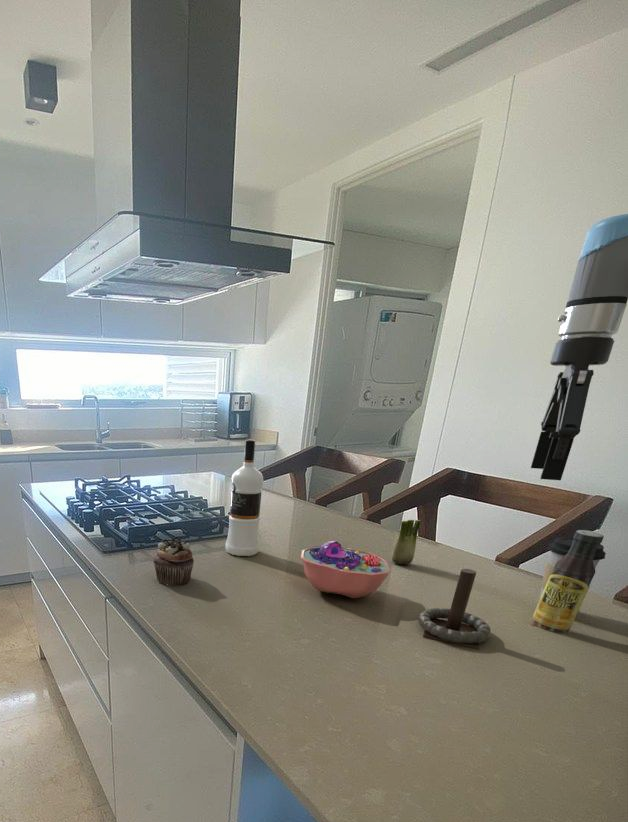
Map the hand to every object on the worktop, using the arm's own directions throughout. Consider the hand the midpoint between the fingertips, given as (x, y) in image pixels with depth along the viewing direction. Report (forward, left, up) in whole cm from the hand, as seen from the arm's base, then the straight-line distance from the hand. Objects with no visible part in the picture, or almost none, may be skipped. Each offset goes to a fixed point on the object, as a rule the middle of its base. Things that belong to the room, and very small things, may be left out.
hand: (544, 473), depth 86 cm
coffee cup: (-11, -14, -30) cm, 34 cm away
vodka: (+61, -14, -30) cm, 69 cm away
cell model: (+31, +1, -30) cm, 43 cm away
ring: (+8, +12, -27) cm, 30 cm away
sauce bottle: (-9, -2, -30) cm, 31 cm away
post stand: (+8, +12, -30) cm, 33 cm away
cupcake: (+67, +14, -30) cm, 75 cm away
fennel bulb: (+21, -28, -30) cm, 46 cm away
